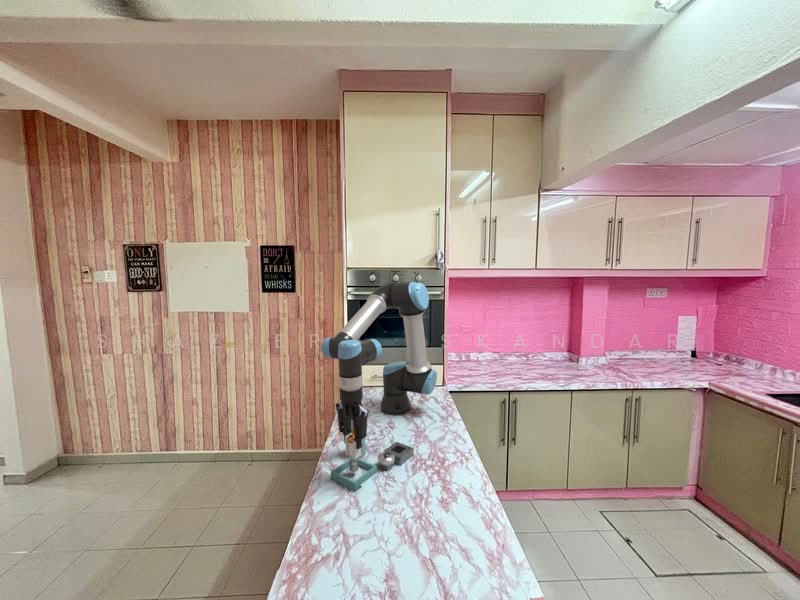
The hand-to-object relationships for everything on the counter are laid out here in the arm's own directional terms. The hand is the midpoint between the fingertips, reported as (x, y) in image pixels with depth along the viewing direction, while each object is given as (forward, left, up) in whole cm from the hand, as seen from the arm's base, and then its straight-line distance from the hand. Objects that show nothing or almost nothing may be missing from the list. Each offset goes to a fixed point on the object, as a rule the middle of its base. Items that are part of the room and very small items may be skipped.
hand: (353, 455), depth 115 cm
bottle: (-10, -9, -8) cm, 16 cm away
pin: (0, 0, -5) cm, 5 cm away
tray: (0, 0, -8) cm, 8 cm away
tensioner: (-14, +6, -8) cm, 17 cm away
